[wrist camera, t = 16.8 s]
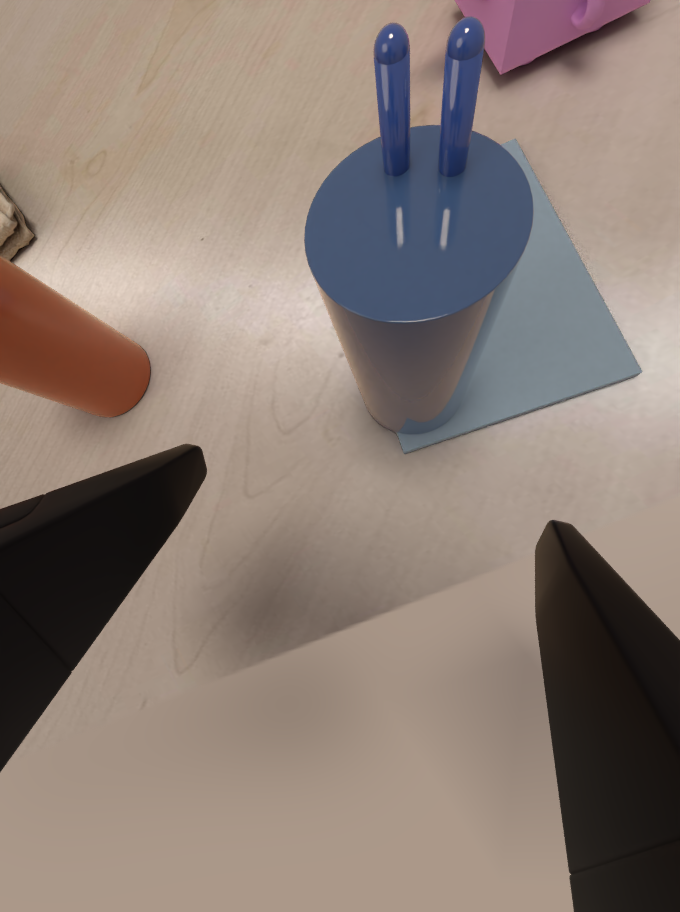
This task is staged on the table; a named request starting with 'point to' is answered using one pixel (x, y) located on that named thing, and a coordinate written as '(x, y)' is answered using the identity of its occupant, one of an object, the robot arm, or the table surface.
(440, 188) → the blue spoon jar
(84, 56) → the table surface
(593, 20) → the teapot
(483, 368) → the blue mat
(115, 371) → the red spoon jar
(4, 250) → the washcloth
